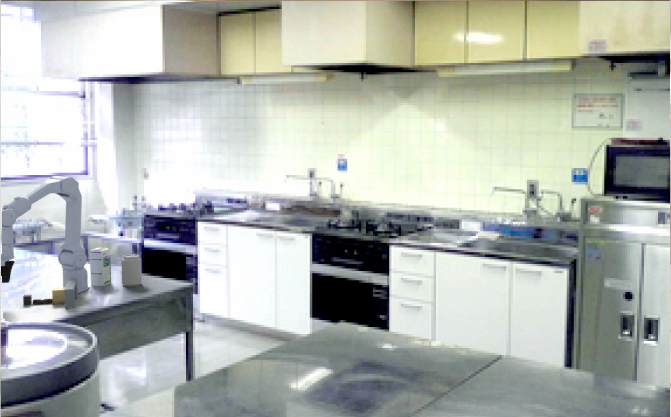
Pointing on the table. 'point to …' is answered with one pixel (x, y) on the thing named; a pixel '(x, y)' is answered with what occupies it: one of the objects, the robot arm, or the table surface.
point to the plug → (56, 299)
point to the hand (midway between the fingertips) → (5, 282)
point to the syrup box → (100, 266)
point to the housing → (70, 293)
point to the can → (131, 270)
